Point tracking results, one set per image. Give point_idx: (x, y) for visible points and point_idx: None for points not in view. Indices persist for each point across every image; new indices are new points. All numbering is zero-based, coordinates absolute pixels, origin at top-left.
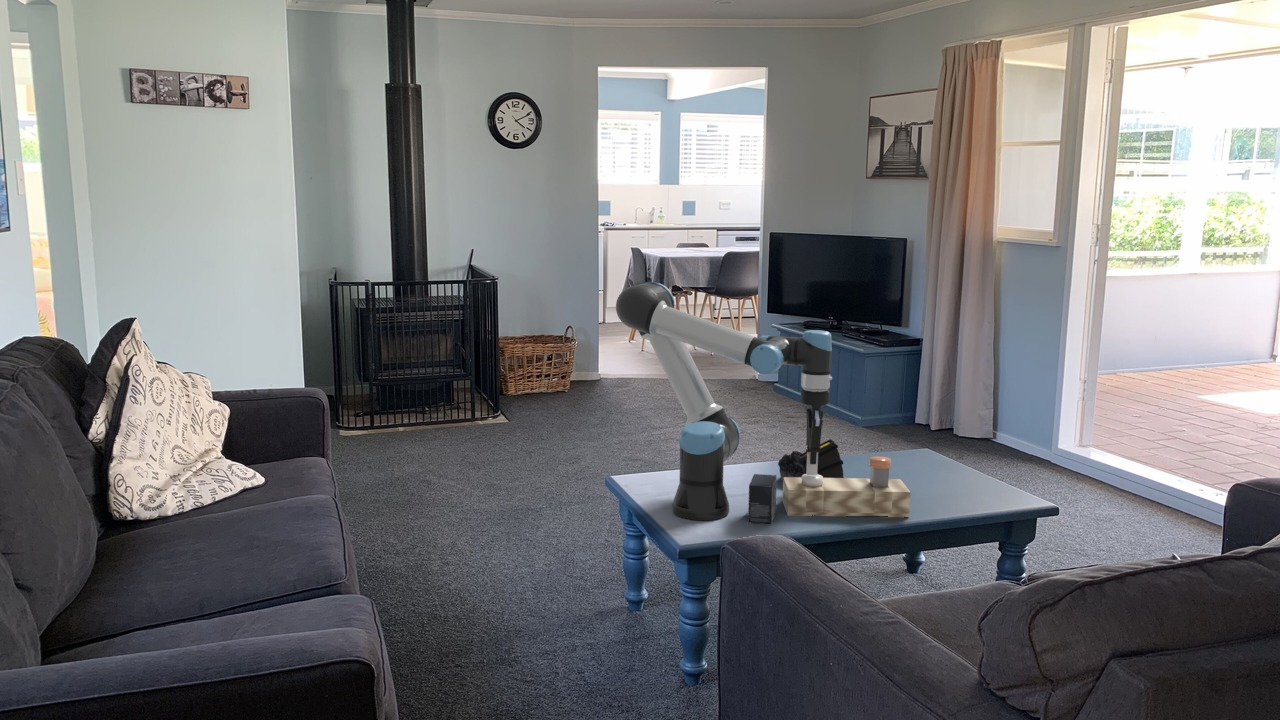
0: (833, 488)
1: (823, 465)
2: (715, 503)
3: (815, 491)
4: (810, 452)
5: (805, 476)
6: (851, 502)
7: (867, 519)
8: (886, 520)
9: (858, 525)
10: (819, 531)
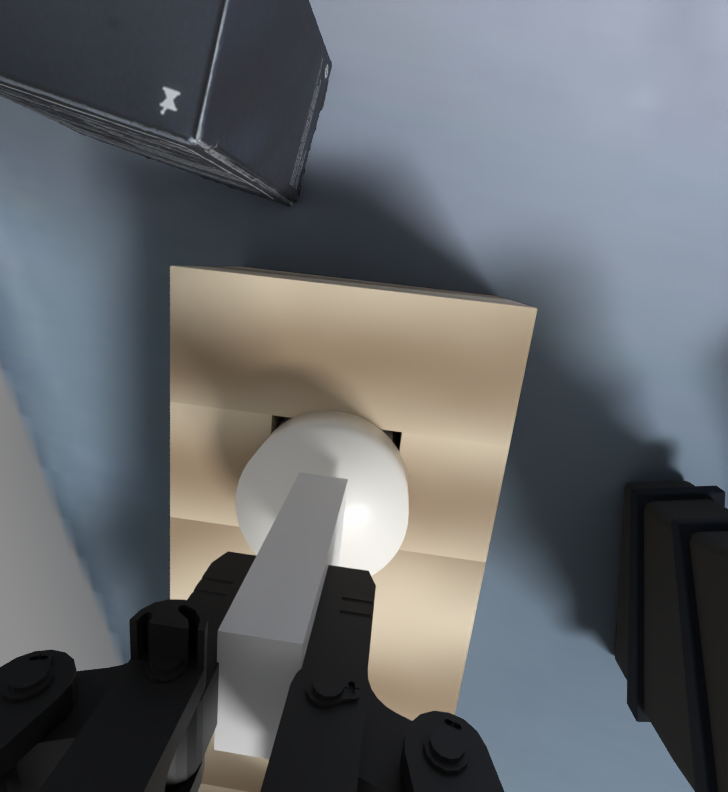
0: None
1: (718, 690)
2: None
3: (172, 460)
4: (222, 653)
5: (321, 458)
6: None
7: None
8: None
9: (112, 563)
10: (11, 370)
